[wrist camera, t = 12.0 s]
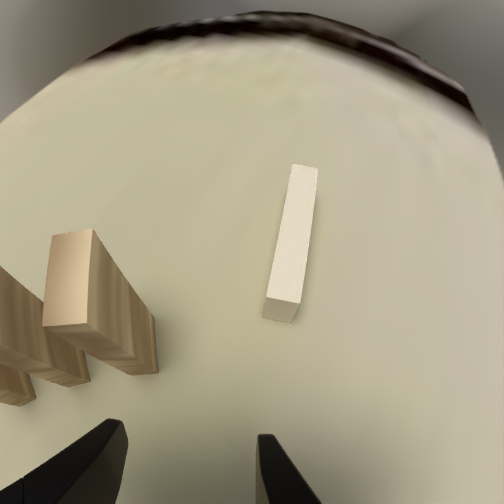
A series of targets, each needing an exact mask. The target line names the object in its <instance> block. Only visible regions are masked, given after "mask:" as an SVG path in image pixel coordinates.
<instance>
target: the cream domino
mask: <svg viewBox="0 0 504 504" xmlns="http://www.w3.org/2000/svg"><path fill="white" fill-rule="evenodd" d="M317 176H318V169H316V168H312V167H307V166H302V165H297V164H292V169H291V175H290V180H289V185H288V190H287V196H286V201H285V206H284V211H283V216H282V221H281V226H280V231H279V236H278V241H277V246H276V251H275V256H274V261H273V266H272V271H271V276H270V280H269V285H268V290H267V295H266V300H265V305H264V310H263V315H262V318H267V319H272V320H277V321H282V322H287V323H291V321H292V319H293V317H294V315H295V313H296V311H297V309H298V307H299V305H300V301H301V295H302V288H303V282H304V275H305V269H306V262H307V255H308V248H309V240H310V233H311V225H312V218H313V210H314V202H315V193H316V185H317Z"/></svg>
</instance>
